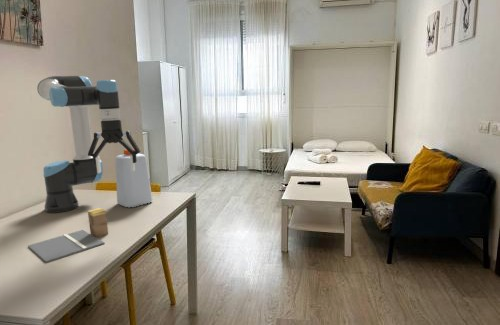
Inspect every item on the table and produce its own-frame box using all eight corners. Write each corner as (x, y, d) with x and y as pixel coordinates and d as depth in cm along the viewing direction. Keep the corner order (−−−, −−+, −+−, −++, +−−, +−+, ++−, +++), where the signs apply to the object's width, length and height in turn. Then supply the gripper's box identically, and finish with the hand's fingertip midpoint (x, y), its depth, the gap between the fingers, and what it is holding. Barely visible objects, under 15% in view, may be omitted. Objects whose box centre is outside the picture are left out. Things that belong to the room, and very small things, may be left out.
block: (90, 234, 145) (87, 211, 143) (102, 231, 148) (100, 207, 147) (96, 237, 142) (93, 213, 140) (108, 234, 145) (105, 210, 143)
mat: (28, 246, 135) (28, 244, 135) (82, 231, 149) (82, 229, 149) (46, 262, 121) (45, 260, 121) (104, 243, 135) (104, 241, 135)
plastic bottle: (141, 197, 196) (136, 146, 191) (155, 202, 186) (151, 148, 181) (114, 203, 186) (108, 150, 181) (128, 209, 176) (122, 152, 170)
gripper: (74, 121, 139) (81, 175, 143) (140, 118, 141) (145, 172, 145) (82, 120, 147) (88, 171, 150) (144, 117, 148) (149, 168, 152)
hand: (116, 171), depth 148 cm, fingers open, 13 cm apart
